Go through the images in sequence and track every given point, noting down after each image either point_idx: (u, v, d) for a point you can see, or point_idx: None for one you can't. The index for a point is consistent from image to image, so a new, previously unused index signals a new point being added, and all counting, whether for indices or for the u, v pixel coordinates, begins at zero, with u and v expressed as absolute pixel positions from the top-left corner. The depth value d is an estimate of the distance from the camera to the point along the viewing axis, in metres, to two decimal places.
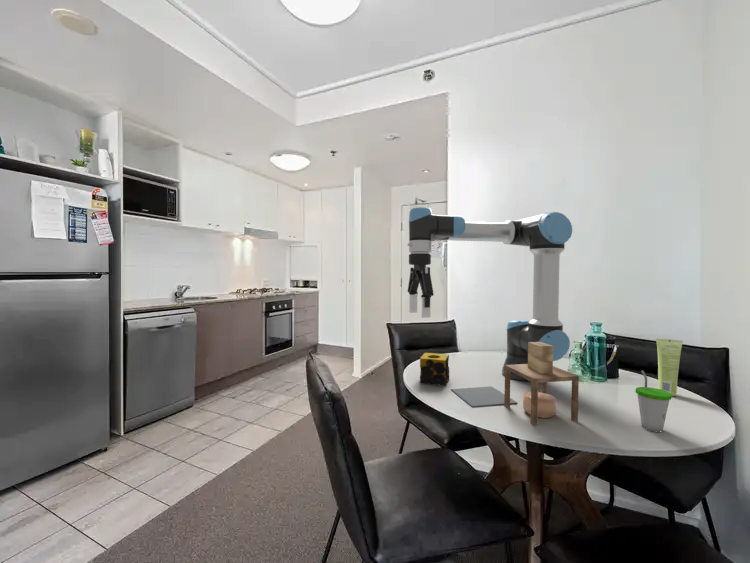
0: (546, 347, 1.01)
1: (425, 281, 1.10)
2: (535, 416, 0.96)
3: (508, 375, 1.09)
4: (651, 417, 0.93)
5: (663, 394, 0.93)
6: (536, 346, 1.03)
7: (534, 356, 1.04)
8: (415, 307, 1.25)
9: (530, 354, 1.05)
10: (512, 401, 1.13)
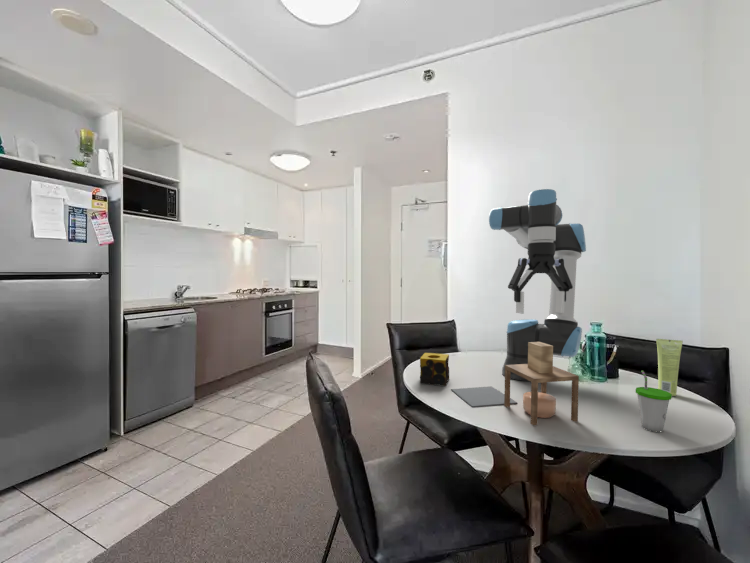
0: (546, 347, 1.01)
1: (514, 273, 1.03)
2: (535, 416, 0.96)
3: (508, 375, 1.09)
4: (651, 417, 0.93)
5: (663, 394, 0.93)
6: (536, 346, 1.03)
7: (534, 356, 1.04)
8: (560, 306, 1.04)
9: (530, 354, 1.05)
10: (512, 401, 1.13)
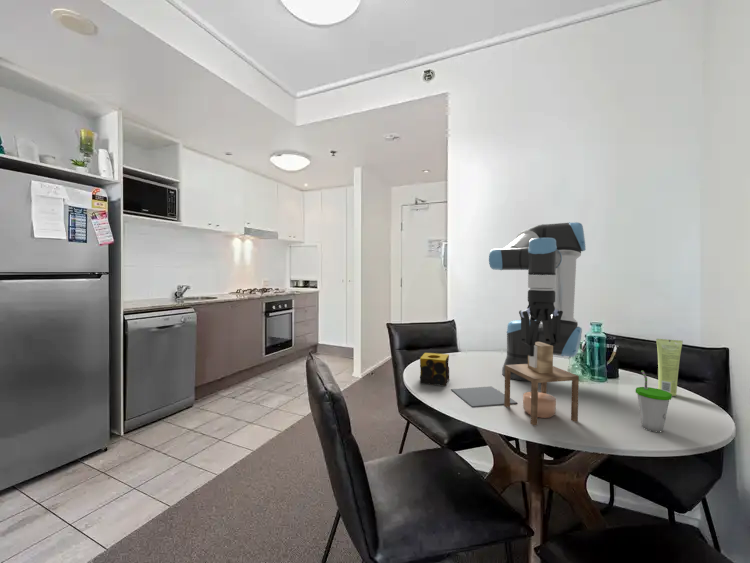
0: (546, 347, 1.01)
1: (521, 327, 1.04)
2: (535, 416, 0.96)
3: (508, 375, 1.09)
4: (651, 417, 0.93)
5: (663, 394, 0.93)
6: None
7: None
8: None
9: None
10: (512, 401, 1.13)
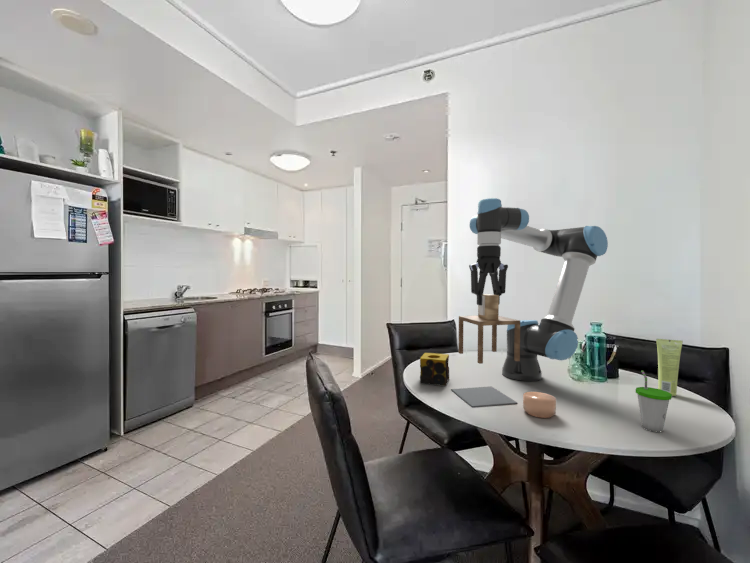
0: (492, 296, 1.13)
1: (471, 279, 1.16)
2: (481, 355, 1.08)
3: (461, 325, 1.21)
4: (651, 417, 0.93)
5: (663, 394, 0.93)
6: None
7: None
8: None
9: None
10: (512, 401, 1.13)
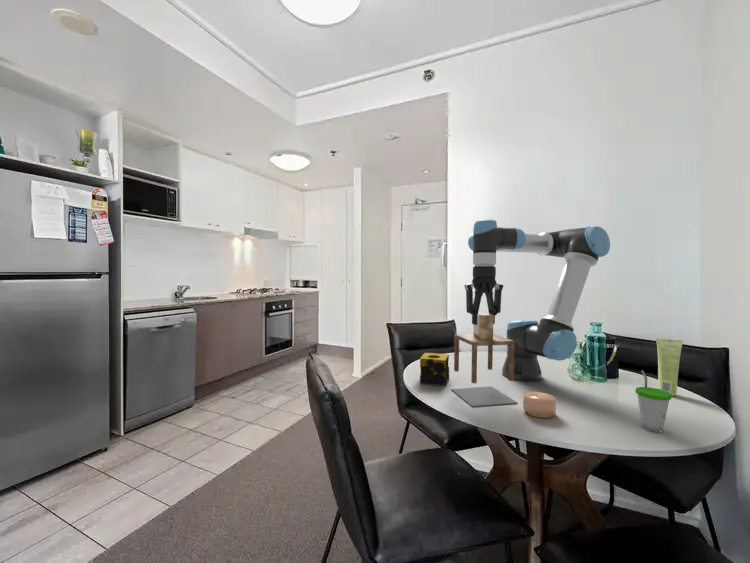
0: (487, 316, 1.15)
1: (466, 299, 1.17)
2: (475, 375, 1.10)
3: (457, 343, 1.22)
4: (651, 417, 0.93)
5: (663, 394, 0.93)
6: (479, 315, 1.16)
7: None
8: None
9: None
10: (512, 401, 1.13)
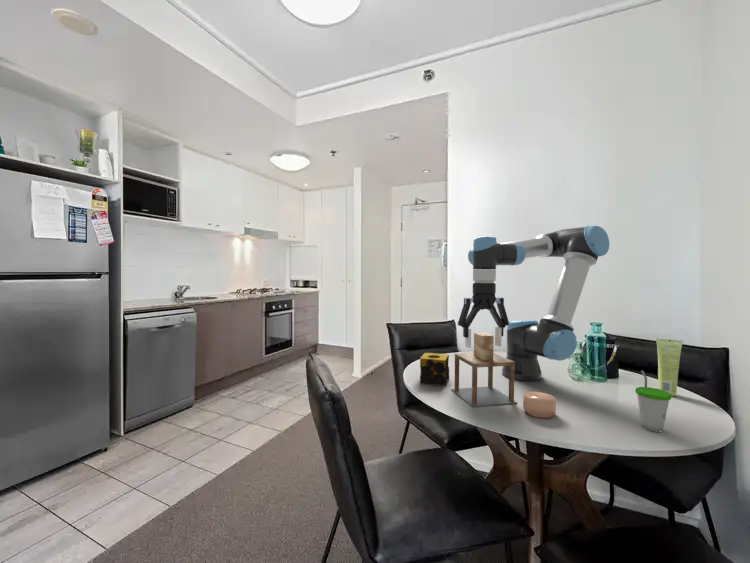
0: (487, 337, 1.15)
1: (462, 311, 1.17)
2: (475, 396, 1.10)
3: (457, 362, 1.23)
4: (651, 417, 0.93)
5: (663, 394, 0.93)
6: (479, 336, 1.17)
7: (478, 345, 1.17)
8: (498, 340, 1.18)
9: (475, 343, 1.19)
10: None
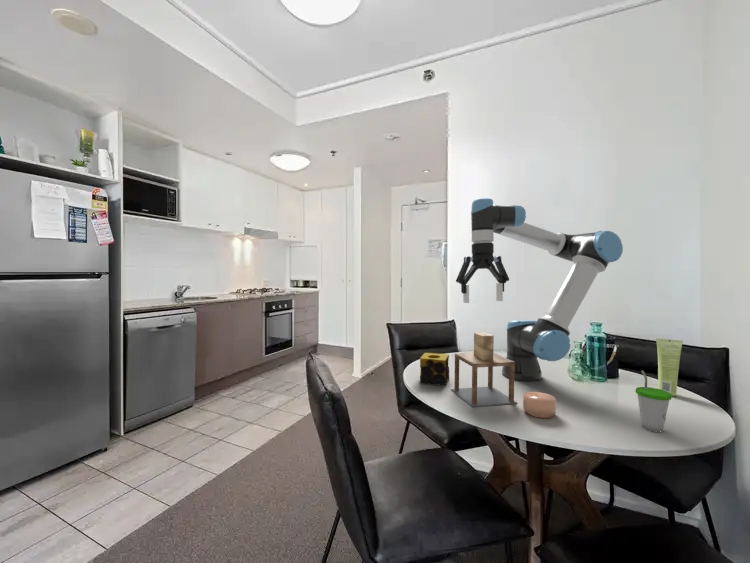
0: (487, 337, 1.15)
1: (461, 269, 1.22)
2: (475, 396, 1.10)
3: (457, 362, 1.23)
4: (651, 417, 0.93)
5: (663, 394, 0.93)
6: (479, 336, 1.17)
7: (478, 345, 1.17)
8: (499, 296, 1.25)
9: (475, 343, 1.19)
10: None
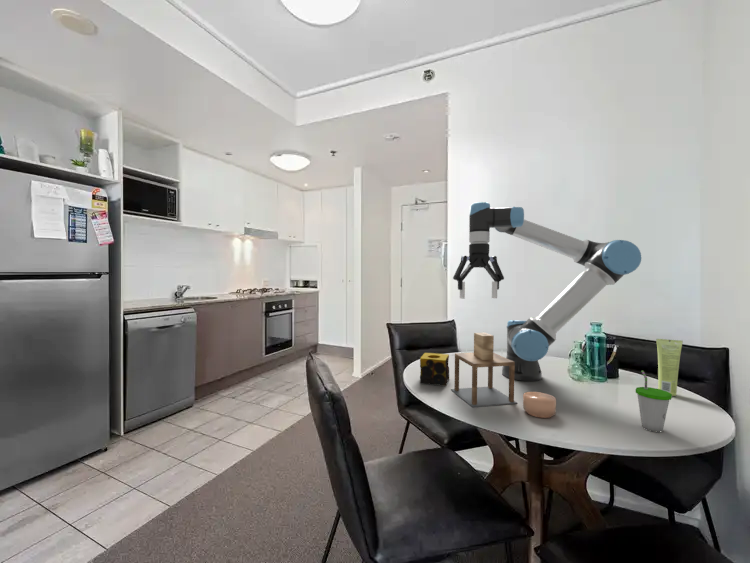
0: (487, 337, 1.15)
1: (458, 267, 1.32)
2: (475, 396, 1.10)
3: (457, 362, 1.23)
4: (651, 417, 0.93)
5: (663, 394, 0.93)
6: (479, 336, 1.17)
7: (478, 345, 1.17)
8: (494, 293, 1.34)
9: (475, 343, 1.19)
10: None
